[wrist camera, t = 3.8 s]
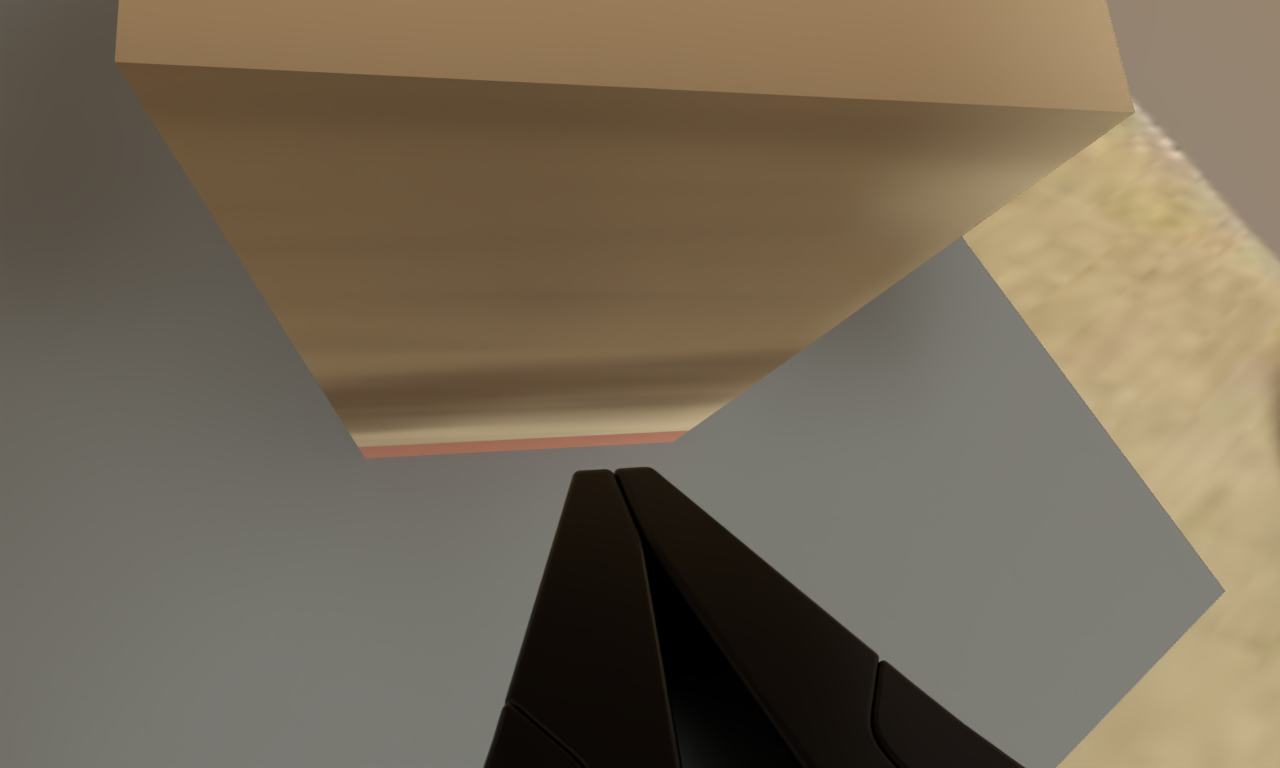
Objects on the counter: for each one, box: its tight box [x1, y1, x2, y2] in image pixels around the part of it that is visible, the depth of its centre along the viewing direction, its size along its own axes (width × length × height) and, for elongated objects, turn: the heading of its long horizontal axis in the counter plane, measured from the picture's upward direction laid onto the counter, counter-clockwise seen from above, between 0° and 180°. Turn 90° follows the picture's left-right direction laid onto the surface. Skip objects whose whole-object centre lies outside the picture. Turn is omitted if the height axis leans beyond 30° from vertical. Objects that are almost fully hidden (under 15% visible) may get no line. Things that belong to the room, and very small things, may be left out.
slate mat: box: [0, 0, 1225, 768], centre depth 17 cm, size 26×22×1 cm
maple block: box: [115, 0, 1135, 458], centre depth 11 cm, size 6×6×12 cm
